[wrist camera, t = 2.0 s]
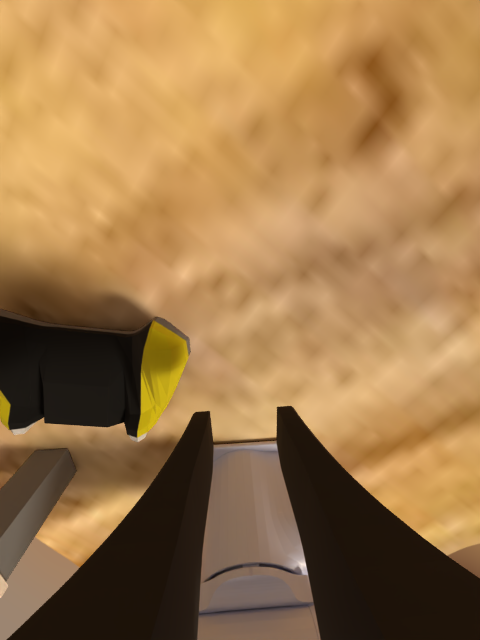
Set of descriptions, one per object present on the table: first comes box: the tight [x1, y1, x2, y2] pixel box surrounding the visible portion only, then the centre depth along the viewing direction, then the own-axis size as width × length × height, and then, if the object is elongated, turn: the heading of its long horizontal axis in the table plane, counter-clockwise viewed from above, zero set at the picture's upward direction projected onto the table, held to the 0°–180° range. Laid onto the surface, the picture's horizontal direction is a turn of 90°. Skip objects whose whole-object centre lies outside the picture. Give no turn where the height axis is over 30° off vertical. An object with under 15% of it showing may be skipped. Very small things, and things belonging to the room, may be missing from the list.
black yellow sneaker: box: [0, 309, 191, 442], centre depth 17 cm, size 15×6×10 cm
